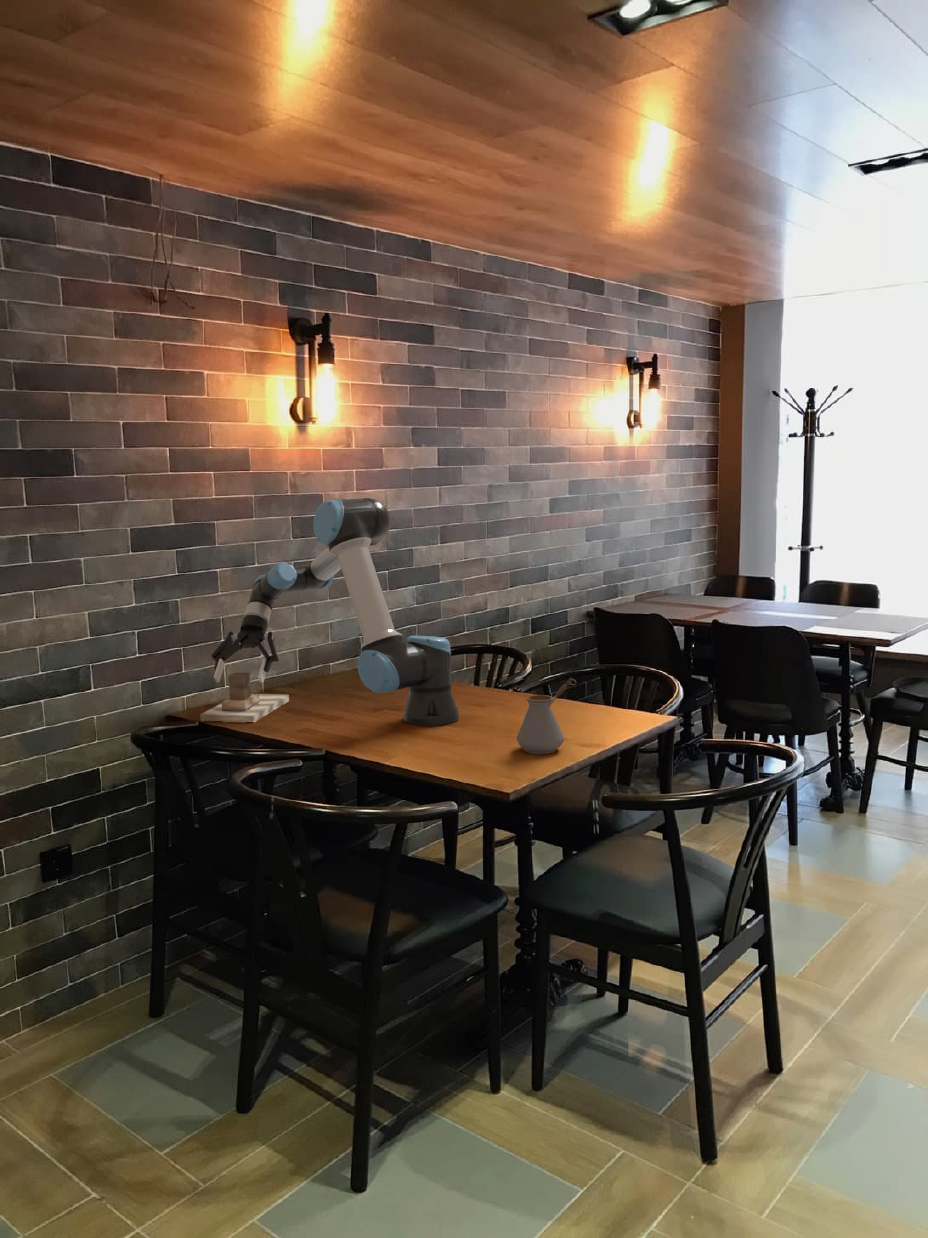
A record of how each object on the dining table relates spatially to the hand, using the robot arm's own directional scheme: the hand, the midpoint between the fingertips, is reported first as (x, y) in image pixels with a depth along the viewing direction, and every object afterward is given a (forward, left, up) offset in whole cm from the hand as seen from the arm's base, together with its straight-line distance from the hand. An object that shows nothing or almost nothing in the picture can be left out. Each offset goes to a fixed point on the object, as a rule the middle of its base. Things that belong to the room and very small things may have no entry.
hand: (238, 680), depth 281 cm
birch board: (+1, -3, -10) cm, 10 cm away
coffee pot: (-93, -26, -10) cm, 97 cm away
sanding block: (0, 0, -8) cm, 8 cm away
